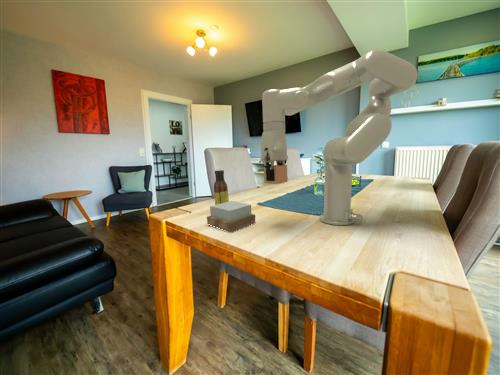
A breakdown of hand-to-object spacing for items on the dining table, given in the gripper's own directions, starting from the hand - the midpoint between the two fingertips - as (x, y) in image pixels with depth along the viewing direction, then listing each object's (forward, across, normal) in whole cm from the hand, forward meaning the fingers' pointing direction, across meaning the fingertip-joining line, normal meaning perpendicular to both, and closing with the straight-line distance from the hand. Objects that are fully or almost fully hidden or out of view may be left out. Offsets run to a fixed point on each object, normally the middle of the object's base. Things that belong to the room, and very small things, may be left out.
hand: (275, 179), depth 79 cm
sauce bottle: (+17, +2, -29) cm, 33 cm away
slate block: (+13, +10, -15) cm, 22 cm away
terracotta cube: (+1, 0, 0) cm, 1 cm away
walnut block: (+17, +10, -15) cm, 25 cm away
